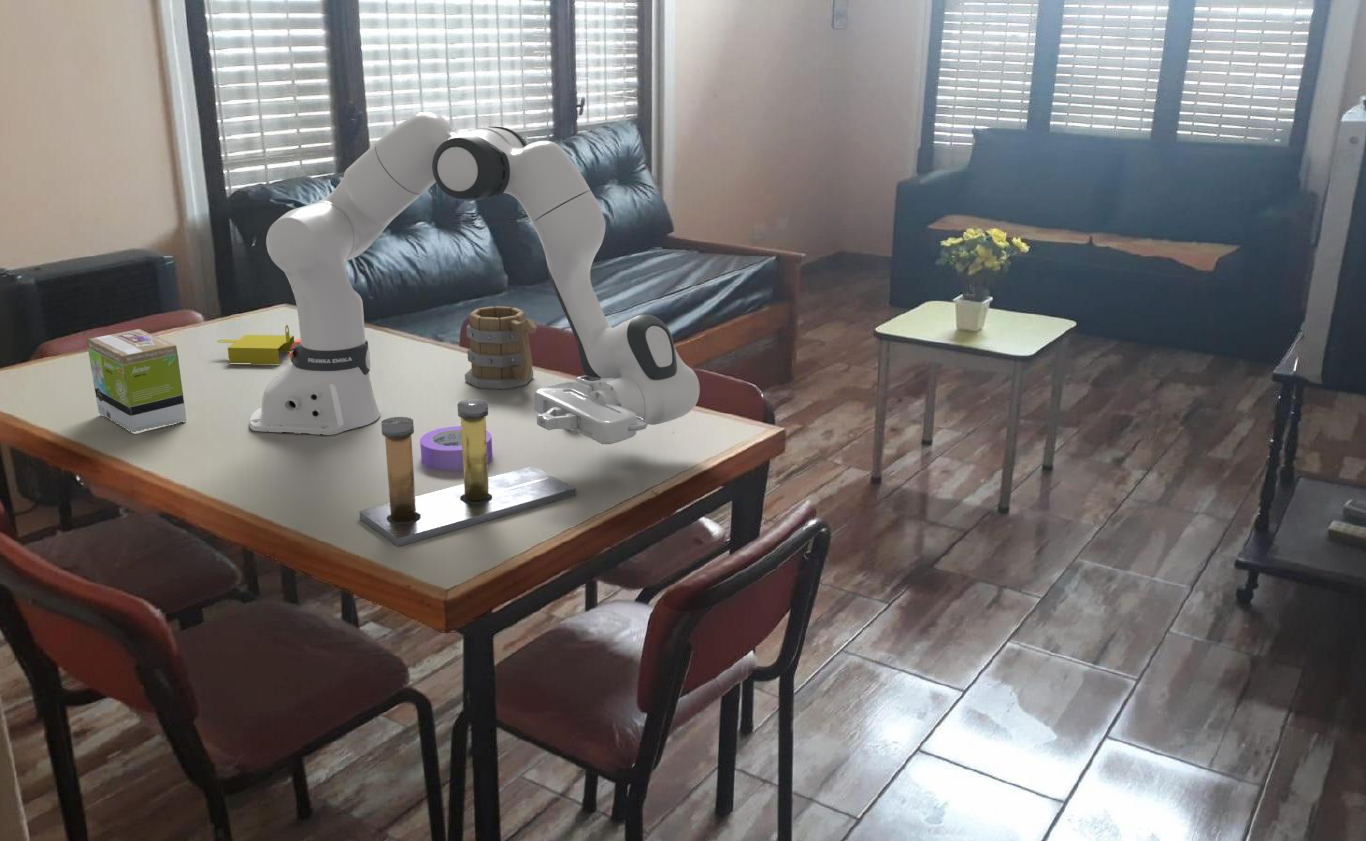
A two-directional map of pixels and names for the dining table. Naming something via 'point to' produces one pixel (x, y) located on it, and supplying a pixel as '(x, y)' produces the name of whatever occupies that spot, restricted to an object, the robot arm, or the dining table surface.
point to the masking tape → (446, 448)
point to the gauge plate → (469, 505)
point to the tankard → (499, 348)
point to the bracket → (259, 348)
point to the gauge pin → (474, 448)
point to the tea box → (137, 379)
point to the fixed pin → (400, 467)
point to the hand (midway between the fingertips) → (541, 422)
